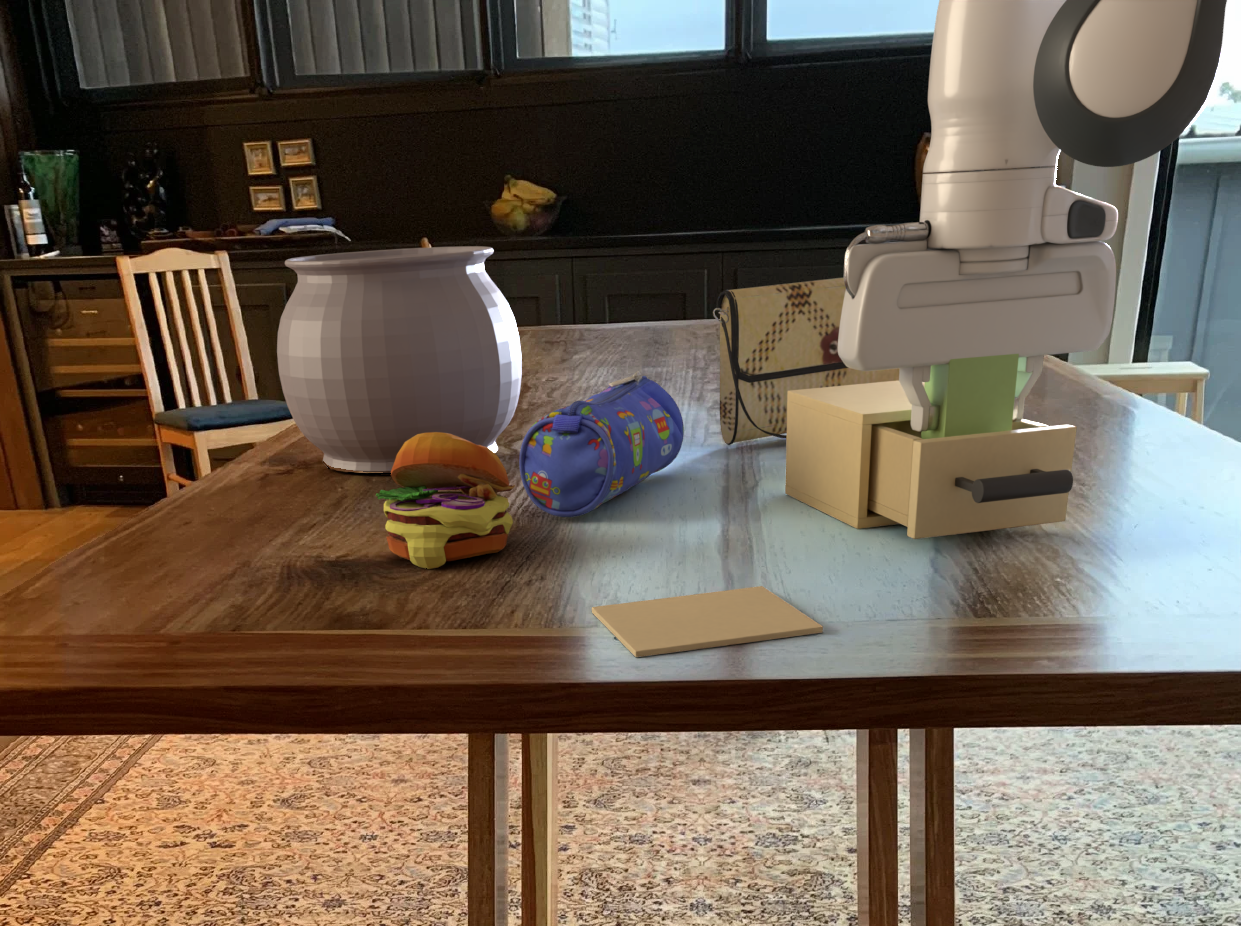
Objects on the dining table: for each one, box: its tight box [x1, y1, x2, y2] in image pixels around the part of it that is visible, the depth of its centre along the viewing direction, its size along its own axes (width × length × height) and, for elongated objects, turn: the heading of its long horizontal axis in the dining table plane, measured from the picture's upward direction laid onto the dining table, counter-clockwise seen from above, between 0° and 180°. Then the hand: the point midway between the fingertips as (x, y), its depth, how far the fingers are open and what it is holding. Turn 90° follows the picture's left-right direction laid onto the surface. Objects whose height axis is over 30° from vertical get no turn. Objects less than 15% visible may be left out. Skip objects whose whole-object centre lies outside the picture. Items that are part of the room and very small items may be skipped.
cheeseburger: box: [375, 432, 516, 570], centre depth 101 cm, size 10×11×10 cm
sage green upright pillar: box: [921, 354, 1019, 439], centre depth 98 cm, size 6×4×11 cm, turn 105°
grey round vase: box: [276, 245, 523, 473], centre depth 135 cm, size 25×25×20 cm
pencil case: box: [518, 370, 685, 518], centre depth 116 cm, size 22×9×10 cm, turn 159°
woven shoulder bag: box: [712, 277, 900, 446], centre depth 138 cm, size 30×7×15 cm, turn 123°
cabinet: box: [784, 380, 925, 530], centre depth 108 cm, size 15×14×9 cm
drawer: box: [867, 418, 1078, 540], centre depth 99 cm, size 18×12×7 cm
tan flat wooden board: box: [591, 585, 824, 658], centre depth 83 cm, size 12×10×1 cm
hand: (966, 425), depth 98 cm, fingers closed on sage green upright pillar, 5 cm apart
